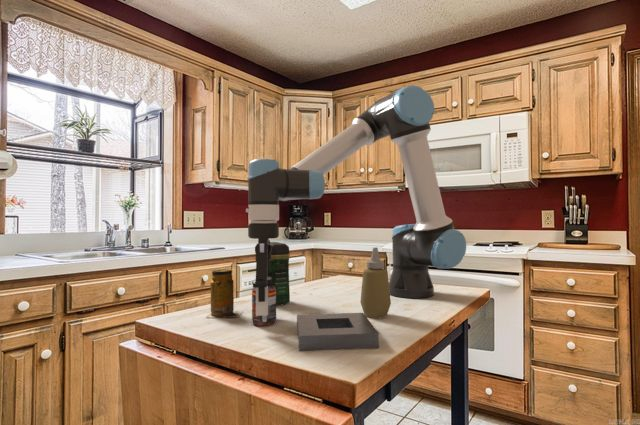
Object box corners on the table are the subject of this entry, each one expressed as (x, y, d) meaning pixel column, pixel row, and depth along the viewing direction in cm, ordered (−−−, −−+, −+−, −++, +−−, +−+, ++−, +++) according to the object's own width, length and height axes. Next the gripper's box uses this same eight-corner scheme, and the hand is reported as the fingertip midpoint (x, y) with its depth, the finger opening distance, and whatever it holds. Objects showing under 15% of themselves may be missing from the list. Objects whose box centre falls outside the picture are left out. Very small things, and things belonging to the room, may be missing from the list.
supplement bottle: (247, 323, 96) (247, 277, 96) (268, 318, 99) (268, 275, 99) (259, 328, 91) (258, 280, 91) (280, 324, 95) (280, 278, 95)
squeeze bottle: (388, 321, 97) (387, 249, 97) (356, 318, 99) (356, 248, 99) (393, 313, 104) (393, 246, 104) (364, 310, 107) (363, 246, 107)
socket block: (363, 325, 93) (362, 312, 93) (378, 348, 77) (378, 333, 77) (297, 327, 92) (296, 314, 92) (299, 351, 76) (299, 335, 76)
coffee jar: (293, 304, 115) (293, 242, 115) (269, 307, 111) (269, 243, 111) (279, 298, 124) (279, 240, 124) (256, 301, 119) (256, 241, 119)
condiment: (213, 311, 108) (213, 268, 108) (243, 311, 108) (243, 268, 108) (205, 318, 101) (205, 272, 101) (238, 318, 101) (237, 272, 101)
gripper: (252, 221, 107) (252, 297, 107) (242, 223, 83) (242, 322, 82) (279, 221, 108) (279, 296, 108) (277, 223, 83) (277, 321, 83)
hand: (263, 308), depth 95 cm, fingers open, 13 cm apart
